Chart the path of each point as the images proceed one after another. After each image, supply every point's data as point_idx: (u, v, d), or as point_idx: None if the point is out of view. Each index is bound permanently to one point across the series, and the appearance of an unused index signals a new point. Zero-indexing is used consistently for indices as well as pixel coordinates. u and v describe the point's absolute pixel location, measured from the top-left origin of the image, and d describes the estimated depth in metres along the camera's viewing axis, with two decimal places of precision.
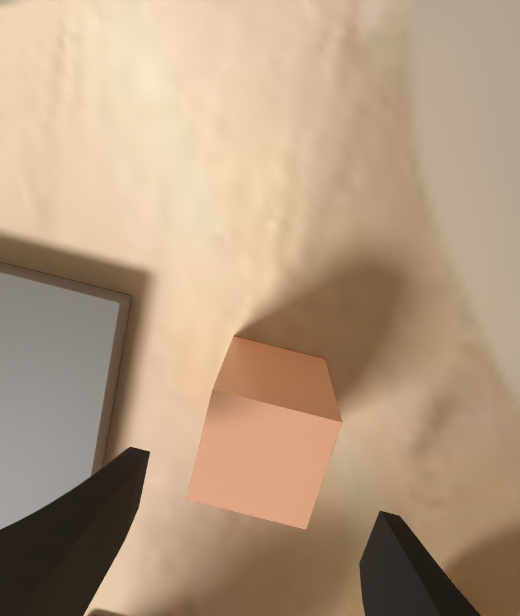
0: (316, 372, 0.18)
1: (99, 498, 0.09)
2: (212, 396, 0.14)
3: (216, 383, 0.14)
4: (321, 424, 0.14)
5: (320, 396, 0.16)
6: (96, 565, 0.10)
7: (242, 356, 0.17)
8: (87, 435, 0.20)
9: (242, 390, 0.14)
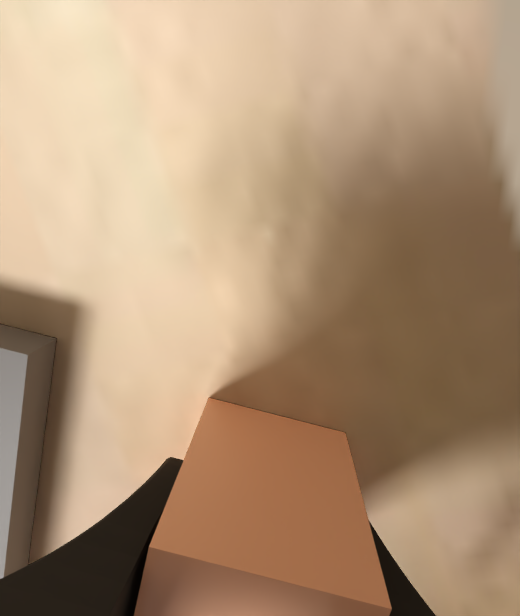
0: (335, 467, 0.11)
1: (151, 511, 0.09)
2: (149, 559, 0.07)
3: (159, 527, 0.08)
4: (352, 611, 0.08)
5: (345, 531, 0.09)
6: None
7: (217, 443, 0.11)
8: None
9: (207, 539, 0.08)
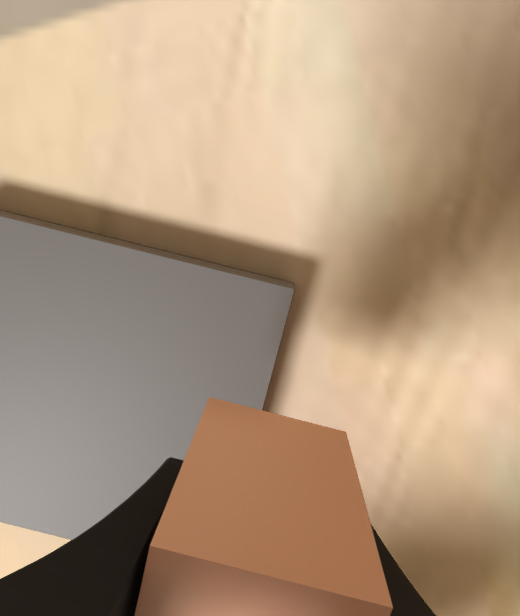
0: (335, 466, 0.11)
1: (151, 511, 0.09)
2: (149, 558, 0.07)
3: (160, 526, 0.08)
4: (353, 610, 0.08)
5: (347, 529, 0.09)
6: None
7: (217, 442, 0.11)
8: None
9: (208, 538, 0.08)
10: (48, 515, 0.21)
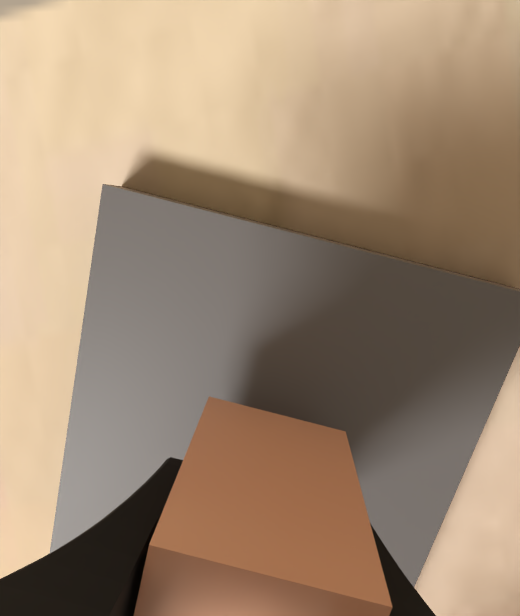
0: (335, 465, 0.11)
1: (151, 511, 0.09)
2: (149, 557, 0.07)
3: (160, 525, 0.08)
4: (353, 609, 0.07)
5: (346, 529, 0.09)
6: None
7: (217, 442, 0.11)
8: (451, 470, 0.15)
9: (208, 537, 0.08)
10: None
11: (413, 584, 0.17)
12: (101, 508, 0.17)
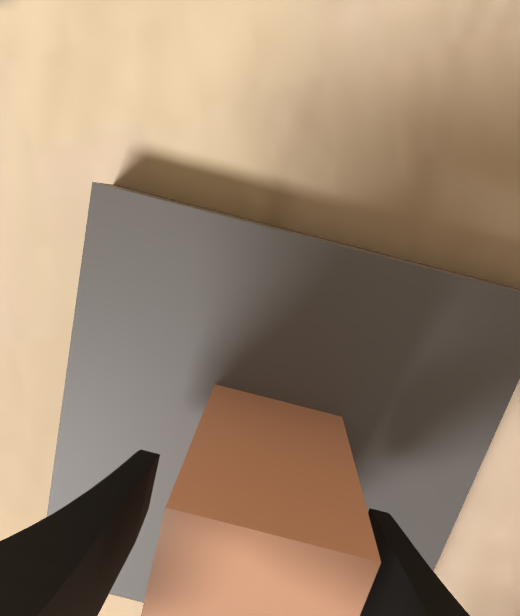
0: (331, 445, 0.12)
1: (112, 501, 0.09)
2: (165, 518, 0.08)
3: (174, 492, 0.09)
4: (346, 564, 0.08)
5: (341, 499, 0.10)
6: (109, 568, 0.10)
7: (223, 424, 0.12)
8: (458, 481, 0.15)
9: (216, 502, 0.09)
10: None
11: None
12: None
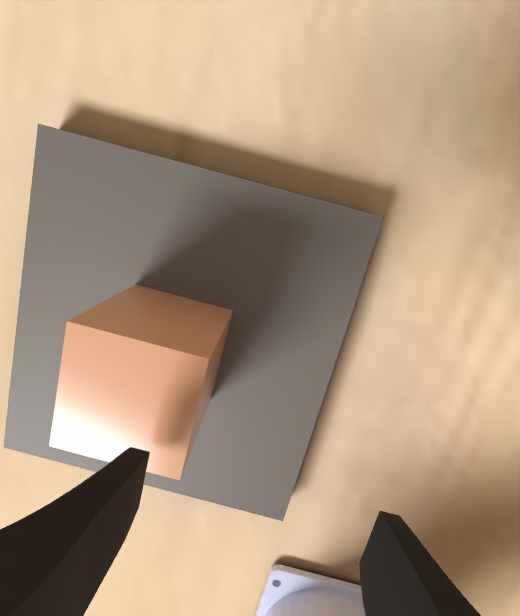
0: (212, 319, 0.17)
1: (99, 498, 0.09)
2: (66, 329, 0.13)
3: (76, 317, 0.13)
4: (187, 361, 0.13)
5: (200, 337, 0.14)
6: (96, 565, 0.10)
7: (130, 300, 0.16)
8: (324, 363, 0.19)
9: (104, 324, 0.13)
10: None
11: (300, 463, 0.20)
12: (45, 399, 0.20)
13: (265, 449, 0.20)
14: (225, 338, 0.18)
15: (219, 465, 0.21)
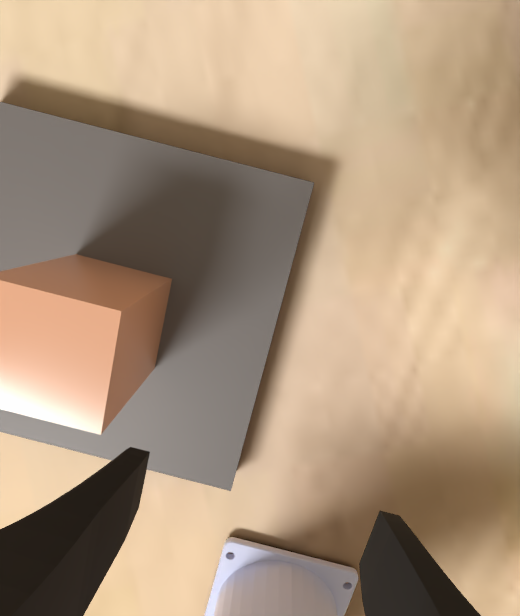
0: (144, 283, 0.17)
1: (99, 498, 0.09)
2: None
3: None
4: (100, 313, 0.13)
5: (122, 295, 0.15)
6: (96, 565, 0.10)
7: (62, 264, 0.17)
8: (263, 330, 0.19)
9: (22, 280, 0.13)
10: (61, 427, 0.21)
11: (245, 432, 0.21)
12: None
13: (210, 418, 0.20)
14: (164, 306, 0.19)
15: (166, 435, 0.21)
